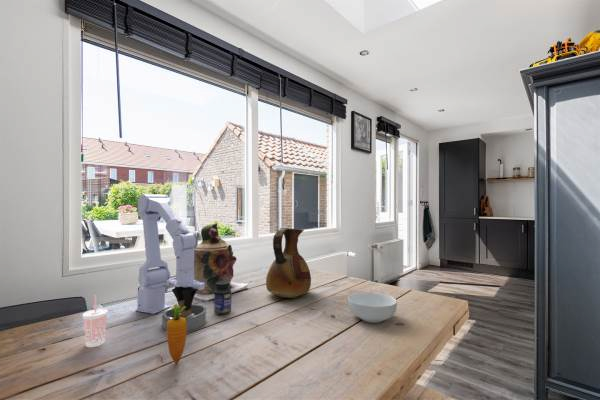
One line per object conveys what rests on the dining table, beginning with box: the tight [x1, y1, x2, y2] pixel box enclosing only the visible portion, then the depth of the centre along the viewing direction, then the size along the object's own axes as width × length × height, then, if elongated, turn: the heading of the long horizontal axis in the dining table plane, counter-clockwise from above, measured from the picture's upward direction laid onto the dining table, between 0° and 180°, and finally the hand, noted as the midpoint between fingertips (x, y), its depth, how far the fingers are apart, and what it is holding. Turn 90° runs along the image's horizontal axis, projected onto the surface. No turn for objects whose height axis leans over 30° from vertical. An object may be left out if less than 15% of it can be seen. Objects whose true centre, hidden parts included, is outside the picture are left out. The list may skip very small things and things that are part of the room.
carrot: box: [166, 303, 187, 364], centre depth 77 cm, size 5×5×15 cm
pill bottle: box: [213, 281, 232, 316], centre depth 112 cm, size 6×6×11 cm
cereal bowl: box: [347, 291, 398, 324], centre depth 106 cm, size 17×17×7 cm
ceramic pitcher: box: [265, 227, 312, 299], centre depth 133 cm, size 20×20×30 cm
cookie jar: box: [194, 221, 249, 302], centre depth 140 cm, size 25×25×32 cm
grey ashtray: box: [161, 303, 208, 332], centre depth 102 cm, size 14×14×4 cm
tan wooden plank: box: [178, 300, 191, 318], centre depth 102 cm, size 2×4×7 cm, turn 159°
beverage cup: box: [82, 294, 109, 348], centre depth 87 cm, size 6×6×14 cm
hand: (185, 308), depth 102 cm, fingers closed on tan wooden plank, 2 cm apart
